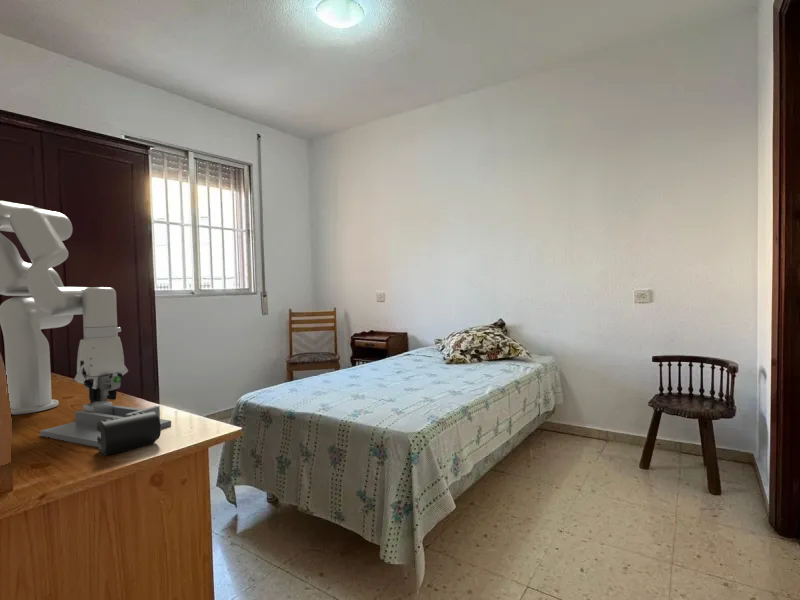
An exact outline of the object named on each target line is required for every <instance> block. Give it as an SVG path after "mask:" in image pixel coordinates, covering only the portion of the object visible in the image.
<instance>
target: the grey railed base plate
mask: <svg viewBox="0 0 800 600" xmlns="http://www.w3.org/2000/svg"><path fill="white" fill-rule="evenodd" d="M160 410H161V409H160V405H154V406H151V407H147V408H137V407H130V406H123V405H115V404H112V411H113V415H107V414H100V413H93V412H86V411H83V410H78V411H75V412H74V414H75V415H74V416H75V421H72V422H69V423H64V424H61V425H57V426H53V427H49V428H44V429H42V430H40V434H39V435H40V437H43V436H45V437H44V438H48V437H50V438H49V439H53V438H54V439H55V440H58V439H59V441H63V440H64V441H63V442H69V443H74V444H79V445H85V446H90V447H95V448H98V449H99V448H101V445H100V444H98V440H97V438H98V436H101V432H100V431H98V430H97V429H96V428H97V423H98V422H99V421H102V420H104V419H105V420H107V419H110V418H115V419H120V418H125V417H130V415H131V414H133V413H134V414H136V413H139V412H144V413H149V412H156V413H157V415H158V417H159V420H160V425H161V430H162V429H165V428H169V427H171V426H172V420H169V419H162V418H161V412H160Z"/></svg>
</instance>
